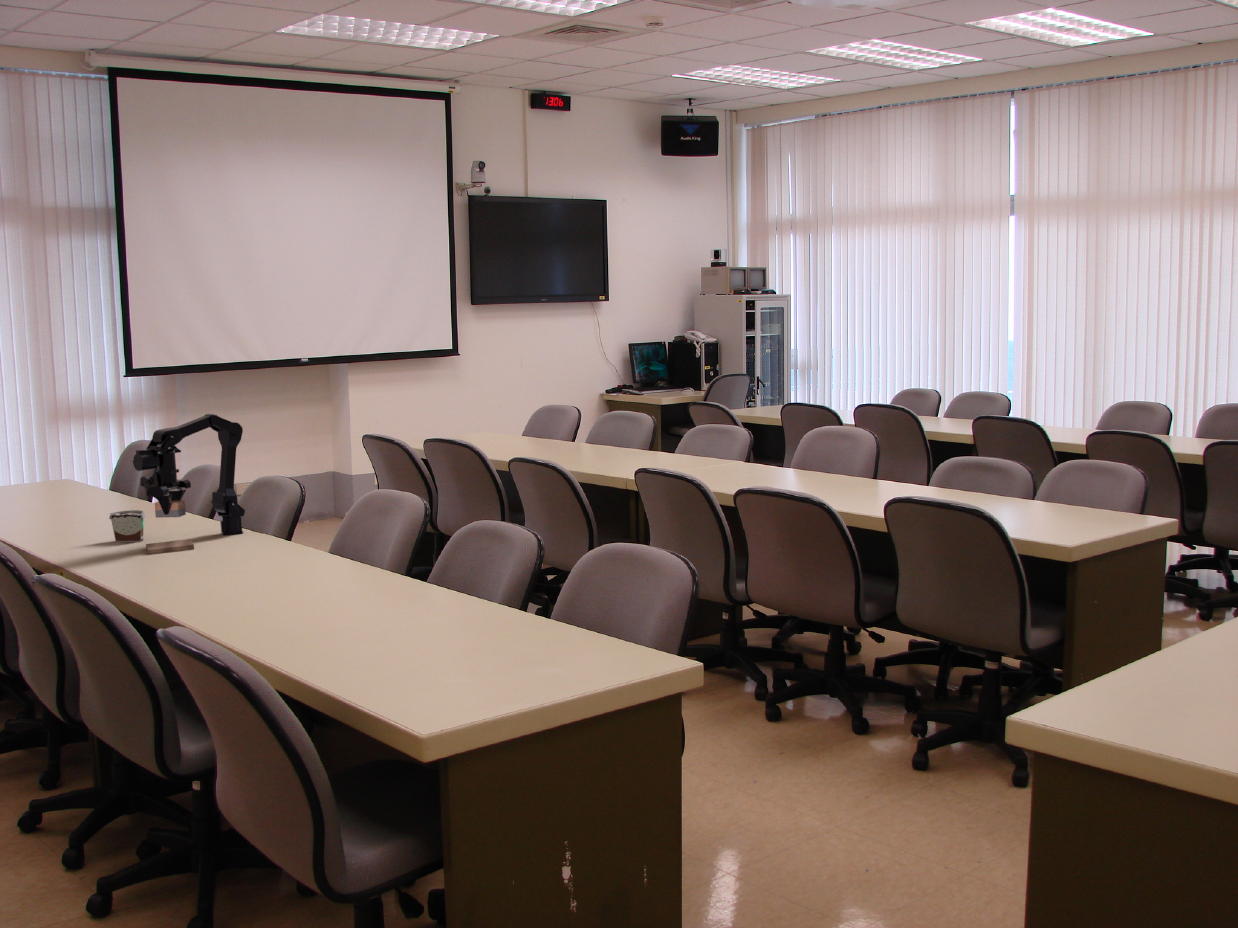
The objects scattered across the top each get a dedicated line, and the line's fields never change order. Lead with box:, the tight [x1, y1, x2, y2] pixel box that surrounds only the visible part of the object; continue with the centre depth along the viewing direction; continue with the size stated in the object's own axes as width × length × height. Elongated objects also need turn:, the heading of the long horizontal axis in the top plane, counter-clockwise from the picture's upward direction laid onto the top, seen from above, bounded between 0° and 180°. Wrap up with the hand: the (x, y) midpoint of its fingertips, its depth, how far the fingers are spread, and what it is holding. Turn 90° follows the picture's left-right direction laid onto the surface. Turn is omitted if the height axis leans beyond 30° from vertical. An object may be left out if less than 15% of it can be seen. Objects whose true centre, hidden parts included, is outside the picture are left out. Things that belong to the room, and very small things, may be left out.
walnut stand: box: [145, 538, 195, 555], centre depth 364 cm, size 14×11×2 cm
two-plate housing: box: [154, 499, 187, 518], centre depth 367 cm, size 5×8×5 cm, turn 86°
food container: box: [109, 509, 146, 543], centre depth 380 cm, size 12×6×10 cm, turn 84°
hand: (170, 513), depth 367 cm, fingers closed on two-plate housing, 5 cm apart
